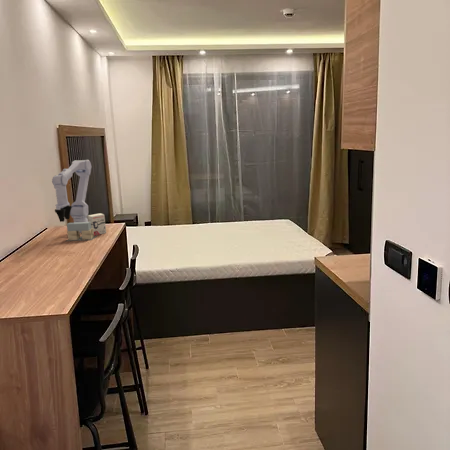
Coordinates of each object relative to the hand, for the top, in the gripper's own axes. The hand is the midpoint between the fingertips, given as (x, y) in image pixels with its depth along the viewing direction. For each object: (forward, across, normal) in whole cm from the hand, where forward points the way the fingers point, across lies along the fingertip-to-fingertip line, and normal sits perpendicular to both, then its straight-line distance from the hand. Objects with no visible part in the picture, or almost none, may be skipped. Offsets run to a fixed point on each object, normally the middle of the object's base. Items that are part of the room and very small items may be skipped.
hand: (64, 220), depth 246 cm
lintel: (+5, +5, +10) cm, 12 cm away
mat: (+10, +4, +10) cm, 15 cm away
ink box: (+11, -6, +16) cm, 20 cm away
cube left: (+10, +5, +6) cm, 13 cm away
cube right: (+10, +5, +14) cm, 18 cm away
